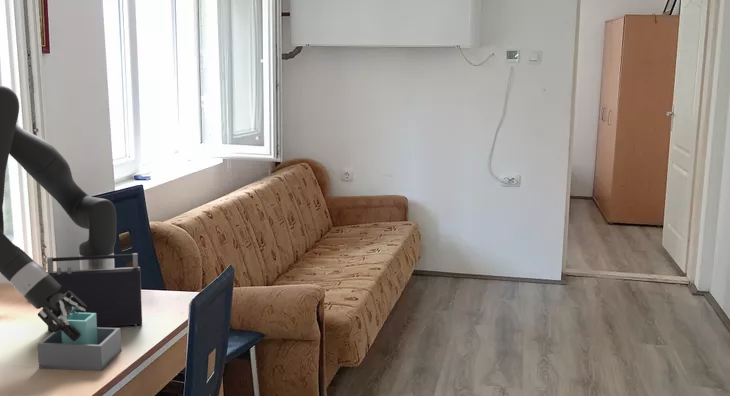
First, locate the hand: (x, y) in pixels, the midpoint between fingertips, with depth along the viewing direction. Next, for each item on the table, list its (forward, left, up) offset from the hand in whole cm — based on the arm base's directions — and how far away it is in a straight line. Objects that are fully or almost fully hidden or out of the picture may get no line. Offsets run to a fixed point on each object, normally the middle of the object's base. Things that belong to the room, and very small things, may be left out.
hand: (85, 332), depth 176 cm
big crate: (+1, -1, -7) cm, 7 cm away
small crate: (+1, -1, -6) cm, 6 cm away
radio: (-9, -22, -7) cm, 25 cm away
